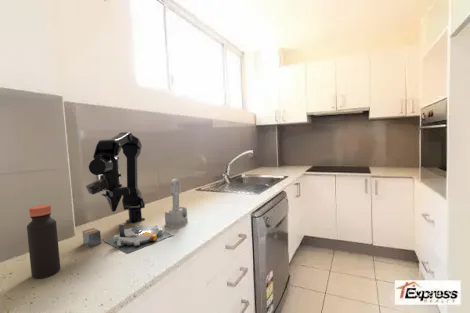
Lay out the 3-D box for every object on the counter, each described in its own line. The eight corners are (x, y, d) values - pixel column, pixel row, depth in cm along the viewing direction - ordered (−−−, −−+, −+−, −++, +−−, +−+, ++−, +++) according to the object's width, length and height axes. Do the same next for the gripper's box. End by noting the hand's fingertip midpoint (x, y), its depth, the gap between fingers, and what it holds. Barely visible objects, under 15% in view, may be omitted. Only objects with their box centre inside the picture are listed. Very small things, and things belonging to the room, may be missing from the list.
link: (83, 243, 93) (82, 230, 93) (94, 240, 96) (93, 227, 96) (89, 247, 89) (88, 234, 89) (101, 243, 92) (100, 230, 92)
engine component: (161, 226, 108) (182, 227, 106) (158, 181, 107) (179, 181, 105) (172, 218, 119) (191, 219, 117) (169, 177, 118) (189, 177, 116)
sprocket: (109, 250, 85) (108, 232, 84) (118, 232, 102) (116, 217, 101) (162, 241, 90) (161, 224, 90) (162, 226, 107) (161, 211, 107)
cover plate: (103, 241, 94) (103, 240, 94) (147, 226, 109) (147, 226, 109) (127, 253, 82) (127, 253, 82) (173, 235, 97) (173, 234, 97)
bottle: (44, 267, 76) (38, 204, 74) (65, 266, 75) (60, 203, 74) (25, 279, 69) (18, 210, 68) (48, 279, 69) (41, 209, 67)
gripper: (79, 173, 95) (82, 212, 96) (96, 176, 82) (100, 221, 83) (109, 170, 103) (112, 206, 104) (129, 172, 90) (132, 213, 91)
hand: (113, 211), depth 95 cm, fingers closed
